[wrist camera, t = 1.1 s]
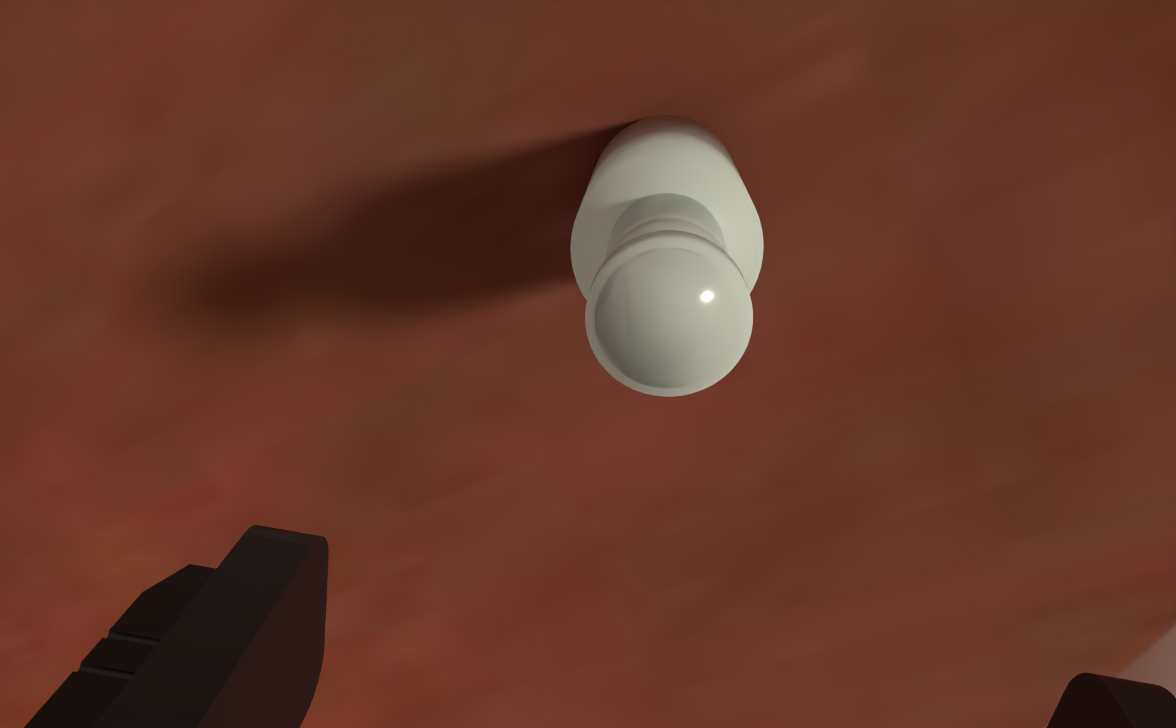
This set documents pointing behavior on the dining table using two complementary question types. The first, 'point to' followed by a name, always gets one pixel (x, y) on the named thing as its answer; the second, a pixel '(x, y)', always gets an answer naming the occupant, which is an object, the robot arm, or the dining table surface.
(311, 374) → the dining table surface
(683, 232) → the bottle
